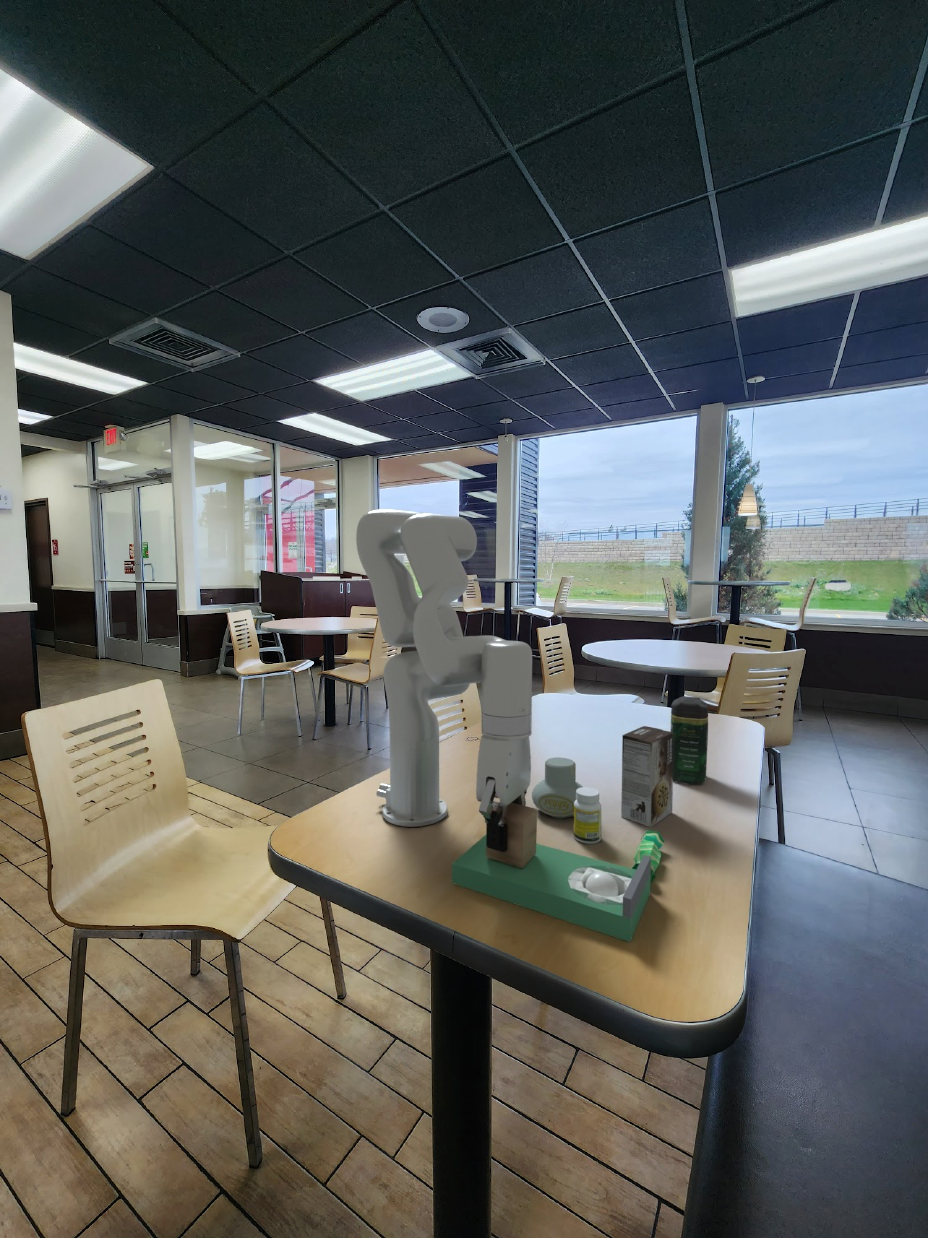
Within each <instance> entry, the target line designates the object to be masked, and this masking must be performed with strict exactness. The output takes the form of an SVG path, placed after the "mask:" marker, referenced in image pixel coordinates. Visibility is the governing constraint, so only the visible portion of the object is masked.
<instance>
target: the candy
mask: <svg viewBox="0 0 928 1238" xmlns="http://www.w3.org/2000/svg"><path fill="white" fill-rule="evenodd" d="M664 844H665V839H664V837H663V836H662V835H661V833H660V832H659V831H655V830H648V829H647V830H646V831H645V832H644V833H643V835H642V837H641V838H640V843H639V845H638V847H637V849H636V851H635V854H634V856H633V857H634V858H633V861H634V862H635V864H634V865H633V866H632V867H631V869H635V870H637V867H638V865H639V863H640V861H641V859H642V857H643V855H646V856H650V857H651V879H650V885H652V882H653V881H654V880H655V878H656V875H655V872H656V870H657V868H658V866H659V865H660V861H661V857H662V852H661V851H660V850H661V848H662V847H663V845H664Z"/></svg>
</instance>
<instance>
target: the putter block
mask: <svg viewBox="0 0 928 1238" xmlns="http://www.w3.org/2000/svg"><path fill="white" fill-rule="evenodd" d="M493 810H494V811H496V812H497V813H498V815H499V813H500V808H499V807H495V806H493ZM505 824H506V825H507V850H506V851H505V852H501V851H497V850H494V849H490V848H488V847H487V846H486V857H488V858H491V859H494V860H497V861H500V862H504V863H507V864H510V865H513V866H516V867H519V868H523V867H524V866H525V865H526V864H527V863H528V862H529V861H530V860H531V858H532V857H533V856H534V855H535V854H536V844H537V836H538V835H537V829H538V828H537V827H538V826H537V825H538V808H534V807H530V806H527V805H526V806H523V805H519V804H515V803H510V804H508V805H507V811H506V818H505Z"/></svg>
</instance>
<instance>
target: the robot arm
mask: <svg viewBox="0 0 928 1238" xmlns="http://www.w3.org/2000/svg"><path fill="white" fill-rule="evenodd" d="M355 536H356V537H355V538H356V539H355V540H356V543H355V544H356V550H357V551H356V552H357V555H358V557H359V560H360V563H361V566H362V568H363V571H364V572H365V575H366V576H367V579H368V580H369V583H370V586H371V590H372V596H373V599H374V602H375V608H376V612H377V613H376V614H377V617H378V622H379V625H380V629H381V630H380V631H381V634H382V636H383V640H384V641H385V643H386V644H387V645H389V646H391V647H394V648H411V647H413V648H414V647H415V648H416V650H412V651H411V650H410V651H404V652H400V653H398V654H394V655H393V656H392V657H390V658H389V659H388V660H387V662H386V663H385V665H384V668H383V682H384V683H383V684H384V687H385V688H384V689H385V693H386V698H387V705H388V706H387V707H388V708H387V709H388V718H389V719H388V721H389V722H388V723H389V724H388V725H389V727H388V728H389V783H385V782H381V783H380V784H379V786H378V787H379V788H378V789H377V790H376V796H377V797H379V798H383V799H385V804H384V805H383V807H382V810H381V811H382V814H383V815H382V817H383V818H385V819H386V820H385V819H384V820H385V821H387V822H388V823H390V824H392V825H395V826H399V827H400V826H401V827H407V828H408V827H409V828H410V827H411V828H412V827H413V828H414V827H424V826H430V825H432V824H433V825H434V824H436V823H438V822H440V821H442V820H443V819H445V818H446V816H447V815H448V804H447V802H446V801H444V800H442V799H441V798H440V724H439V719H438V717H437V715H436V713H435V712H434V710H433V709H432V708H431V706H430V704H429V703H428V702H429V701H430V700H434V699H440V698H447V697H454V696H458V695H461V694H463V693H464V692H466V691H467V690H468V689H469V687H470V686H471V684H480V683H481V731H480V732H481V734H482V735H481V737H480V741H479V747H478V748H479V750H478V756H477V767H476V769H477V770H476V782H475V783H476V786H475V787H476V788H475V796H476V800H477V802H480V804H479V807H478V812H479V814H481V815H482V817H483V819H484V823H485V824H486V826H485V827H486V830H485V831H486V832H485V833H486V834H485V835H486V846H487V847H488V848H490V849H494V850H497V851H501V852H505V851H506V850H507V825H506V824H505V818H506V811H507V805H508V804H510V803H515V804H519V805H523V806H527V805H526V804H527V801H526V795H527V793H528V789H529V787H530V785H531V777H532V776H531V775H532V760H531V759H532V758H531V757H532V756H531V740H530V737H531V736H532V728H533V727H532V725H533V722H532V720H533V718H532V713H533V711H532V710H533V708H532V707H533V701H532V700H533V696H532V695H533V650H532V648H531V647H530V645H529V644H528V643H527V642H524V641H517V640H506V639H503V638H501V637H498V636H495V635H489V634H488V635H469V636H464V633H463V630H462V627H461V623H460V620H459V615H458V614H457V612H456V610H455V609H454V607H453V606H452V605H451V603H454V602H455V601H456V600H458V599H459V598H460V597H462V596H463V594H464V593H465V592H466V590H467V589H468V586H469V584H470V583H469V577H468V574H467V572H466V569H465V568H464V566H463V563H462V562H465V561H468V560H470V558H472V557H473V556H474V554H475V552H476V550H477V545H478V538H477V534H476V531H475V528H474V526H473V525H472V524H471V522H470V521H469V520H467V519H466V518H464V517H461V516H456V515H447V514H445V515H444V514H439V513H438V514H437V513H431V512H430V513H429V512H421V511H419V512H418V511H410V510H409V511H408V510H398V509H375V510H370V511H369V512H366V513H365V514H363V515H362V517H361V518H360V519H359V521H358V524H357V526H356V535H355ZM395 554H405V555H406V558H407V560H408V563H409V565H410V568H411V570H412V572H413V575H414V577H415V580H416V582H417V585H418V588H419V590H420V592H421V597H420V596H419V595H418V592H417V589H416V585H415V581H414V577H413V575H412V574H411V571H410V570H409V569H408V568H407V567H406V566H405V564H404V563H403V562H401V561H400V560H399V559H398V558H397V557H396V556H395ZM495 798H496V799H498V800H499V801H495ZM494 806H495V807H499V808H500V813H499V815H498V813H497V812H496V811H494V810H493V807H494Z"/></svg>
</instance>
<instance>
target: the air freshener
mask: <svg viewBox="0 0 928 1238" xmlns="http://www.w3.org/2000/svg"><path fill="white" fill-rule="evenodd" d="M576 774H577V773H576V762H575V761H574V760H573V759H571V758H567V757H558V756H556V757H550V758H547V760H545V762H544V779H543V780H541V781H539V782H538V783H537V784H535V786H534V787H533V789H532V791H531V799H532V802H533V804H534V806H535V807H536V809H537V810H539V811H541V812H542V813H544V814H546V815H547V816H550V817H552V818H555V819H567V818H571V817H574V802H575V800H576V790H577V789H578V788H581V787H584V786H583V785H582V784H580V783H579V782H577V781H576V780H577V779H576V777H577V776H576Z"/></svg>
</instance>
